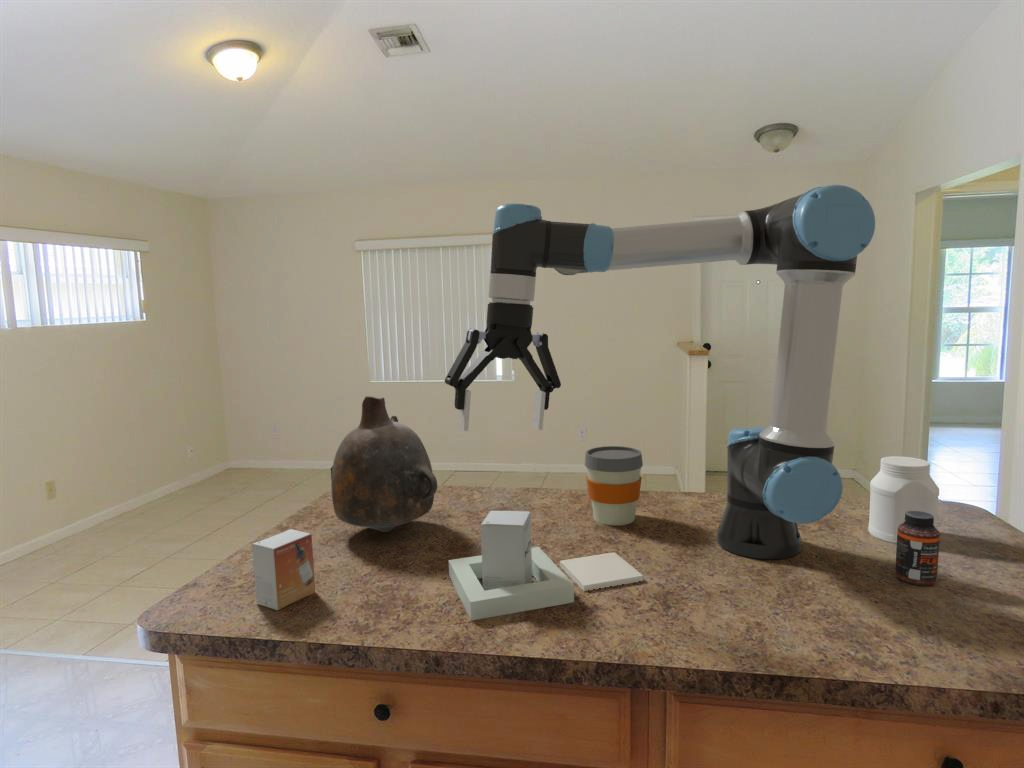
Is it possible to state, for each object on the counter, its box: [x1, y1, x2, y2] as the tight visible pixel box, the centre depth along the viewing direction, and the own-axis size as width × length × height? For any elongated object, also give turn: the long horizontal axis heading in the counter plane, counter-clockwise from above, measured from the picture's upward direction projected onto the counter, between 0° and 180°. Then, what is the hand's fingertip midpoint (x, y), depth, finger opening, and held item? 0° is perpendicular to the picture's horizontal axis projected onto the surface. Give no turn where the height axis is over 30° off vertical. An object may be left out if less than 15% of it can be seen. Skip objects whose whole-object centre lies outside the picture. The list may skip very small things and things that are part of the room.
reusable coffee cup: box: [584, 445, 644, 526], centre depth 139 cm, size 13×13×15 cm
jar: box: [867, 455, 940, 544], centre depth 125 cm, size 12×10×15 cm
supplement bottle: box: [894, 511, 941, 587], centre depth 105 cm, size 6×6×11 cm
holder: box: [447, 546, 575, 622], centre depth 107 cm, size 17×17×3 cm
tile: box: [559, 551, 644, 592], centre depth 112 cm, size 11×11×1 cm
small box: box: [251, 528, 316, 611], centre depth 106 cm, size 8×6×10 cm
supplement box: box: [480, 510, 533, 591], centre depth 107 cm, size 7×7×13 cm
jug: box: [330, 395, 438, 533], centre depth 135 cm, size 24×21×30 cm
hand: (500, 428), depth 106 cm, fingers open, 13 cm apart
